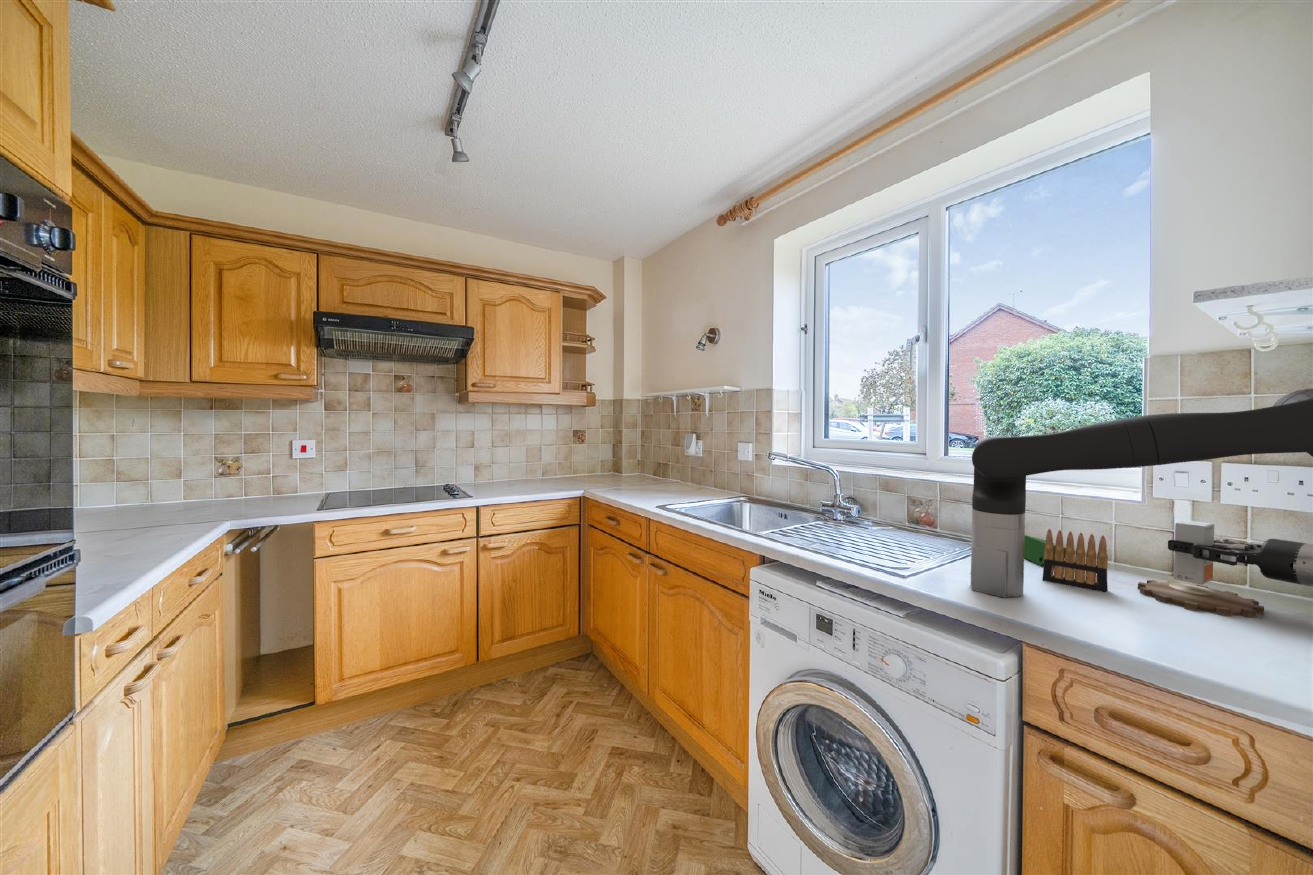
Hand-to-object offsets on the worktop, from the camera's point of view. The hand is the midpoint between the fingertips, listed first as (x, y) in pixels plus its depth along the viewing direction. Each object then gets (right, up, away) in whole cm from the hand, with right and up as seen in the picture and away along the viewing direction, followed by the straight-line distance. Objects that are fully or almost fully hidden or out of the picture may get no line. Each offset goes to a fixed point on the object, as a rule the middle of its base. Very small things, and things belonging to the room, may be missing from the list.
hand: (1178, 543), depth 99 cm
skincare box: (+1, -7, -2) cm, 8 cm away
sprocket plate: (-1, -11, -4) cm, 11 cm away
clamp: (-11, -10, +22) cm, 26 cm away
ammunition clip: (-18, -11, +4) cm, 22 cm away
